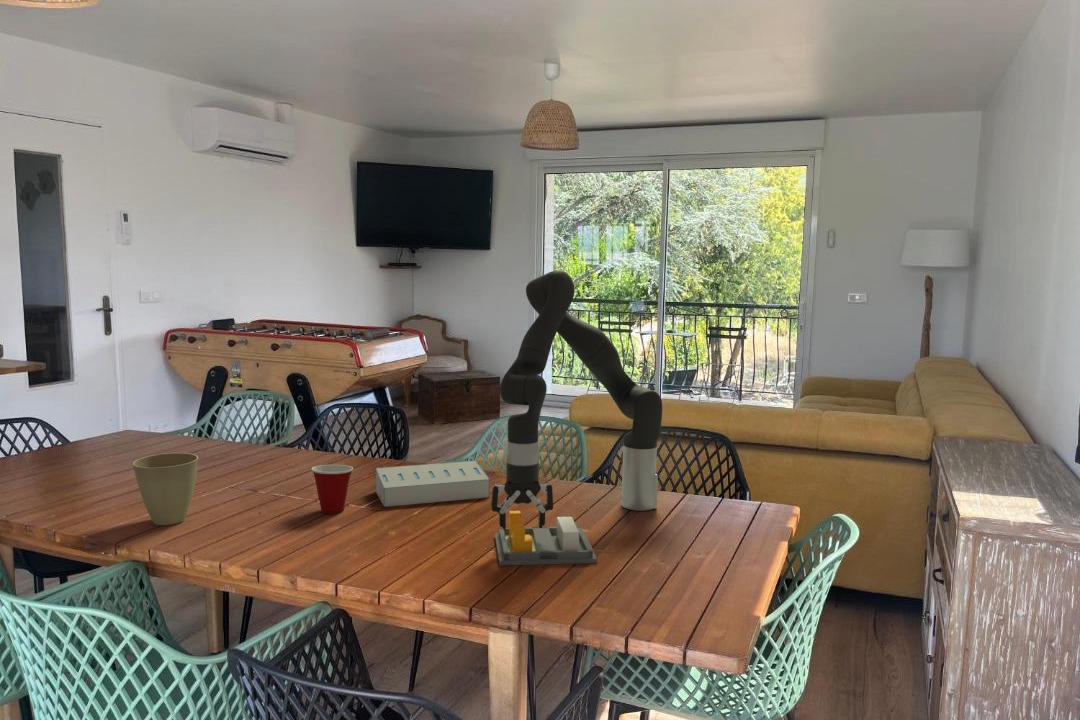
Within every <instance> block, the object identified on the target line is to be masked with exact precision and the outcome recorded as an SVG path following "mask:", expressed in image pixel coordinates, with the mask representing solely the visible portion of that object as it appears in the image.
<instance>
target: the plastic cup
mask: <svg viewBox="0 0 1080 720" xmlns="http://www.w3.org/2000/svg"><path fill="white" fill-rule="evenodd" d="M311 471H312V472H313V477H314V480H315V486H316V490H317V496H318V501H319V506H320V511H321V513H323V514H327V515H334V514H335V515H336V514H340V513H342V512H344V509H345V506H346V499H347V496H348V495H347V494H348V489H349V483H350V478H351V475H352V472H353V471H354V467H353V466H351V465H344V464H322V465H321V464H320V465H316V466H312V467H311Z"/></svg>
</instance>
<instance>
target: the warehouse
mask: <svg viewBox="0 0 1080 720" xmlns="http://www.w3.org/2000/svg"><path fill="white" fill-rule="evenodd" d="M490 482H491V479H490V477H489V476H488V474H487V473H486V471H484V469H483V467H482V466H481V465H480V464H479V462H478V461H477V460H475V459H474V460H462V461H452V462H451V461H450V462H438V463H436V462H435V463H425V464H424V463H423V464H413V465H412V464H410V465H398V466H396V465H395V466H386V467H385V466H382V467H375V493H376V495H377V496H378V498H379V500H380V502H381V503H382V505H383V507H397V506H406V505H408V506H409V505H417V504H429V503H438V502H439V503H441V502H450V501H463V500H472V499H483V498H484V499H485V498H490V497H491V496H490V495H491V492H490V491H491V489H490V487H491V486H490V485H491V484H490Z"/></svg>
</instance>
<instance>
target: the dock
mask: <svg viewBox="0 0 1080 720" xmlns="http://www.w3.org/2000/svg"><path fill="white" fill-rule="evenodd" d="M498 529H499V532H495V533H494V540H495V546H496V552H497V557H498V564H499V566H527V565H528V566H531V565H532V566H533V565H536V566H537V565H538V566H539V565H569V564H571V565H572V564H573V565H574V564H576V565H577V564H597V563H598V558H597V557H598V556H597V555H596V554H595V553H596V552H595V551H594V549H593V547H592V544H591V543H590V541H589V539H588V537H587V535H586V533H585V531H584V530H583V529H582V526H580V525H576V523H575V521H574V518H573V516H557V517H556V526H542V528H539V526H528V527H525V535H530V536H531V538H532V541H533V546H532V551H528V552H512V548H511V543H510V539H509V527H506V529H502V527H498Z"/></svg>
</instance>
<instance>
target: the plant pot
mask: <svg viewBox="0 0 1080 720" xmlns="http://www.w3.org/2000/svg"><path fill="white" fill-rule="evenodd" d="M132 465H133V466H132V467H133V471H134V475H135V479H136V484H137V487H138V489H139V493H140V495H141V498H142V501H143V504H144V506H145V508H146V511H147V512H148V515H149V517H150V519H151V521H152V523H153V524H154V525H156V526H172V525H177V524H179V523H183V521H185V520H186V518H187V515H188V511H189V509H190V506H191V502H192V499H193V495H194V490H195V485H196V480H197V475H198V466H199V456H198V455H197V454H195V453H190V452H189V453H187V452H168V453H158V454H153V455H152V454H151V455H148V456H144V457H140V458H138V459H136V460H134V461H133V462H132Z"/></svg>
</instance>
